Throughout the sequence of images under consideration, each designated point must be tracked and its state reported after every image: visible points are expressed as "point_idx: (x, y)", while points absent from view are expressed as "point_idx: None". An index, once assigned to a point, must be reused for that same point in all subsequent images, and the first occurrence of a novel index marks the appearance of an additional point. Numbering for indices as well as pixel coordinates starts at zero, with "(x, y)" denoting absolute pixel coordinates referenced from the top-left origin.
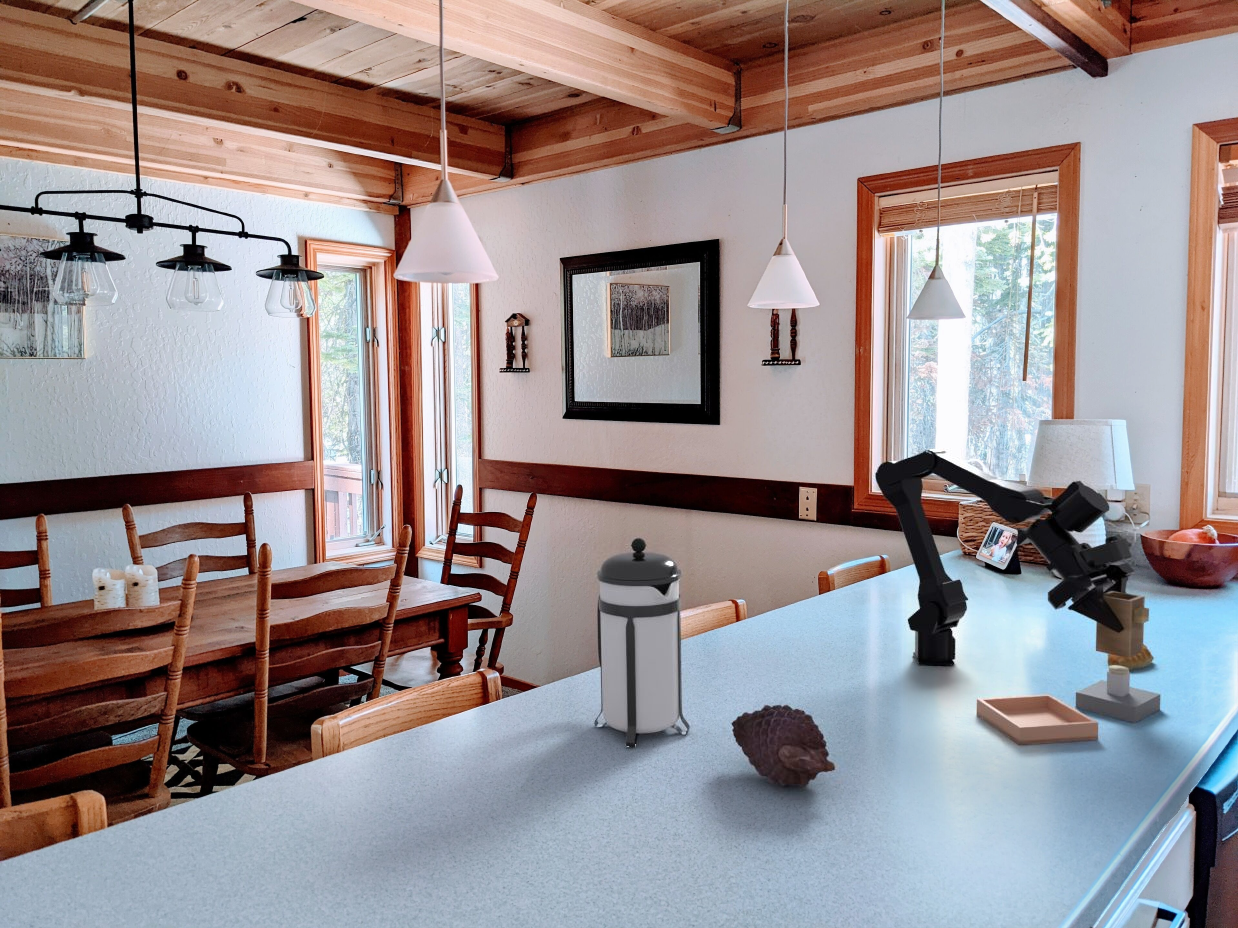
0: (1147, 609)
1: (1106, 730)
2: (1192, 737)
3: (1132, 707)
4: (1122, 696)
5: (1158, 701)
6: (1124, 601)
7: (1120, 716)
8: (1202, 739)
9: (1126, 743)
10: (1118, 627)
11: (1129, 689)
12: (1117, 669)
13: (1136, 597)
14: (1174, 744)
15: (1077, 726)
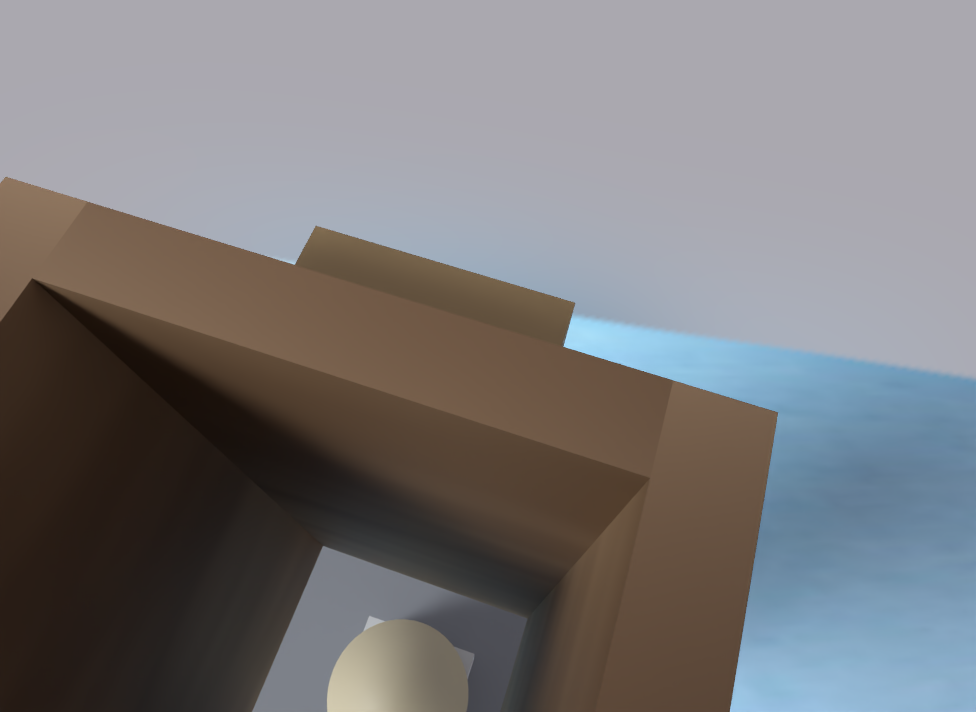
0: (381, 248)
1: (809, 709)
2: (651, 364)
3: None
4: (475, 658)
5: None
6: (736, 575)
7: None
8: (651, 333)
9: (919, 601)
10: None
11: (305, 632)
12: (441, 699)
13: (217, 320)
14: (783, 421)
15: None
